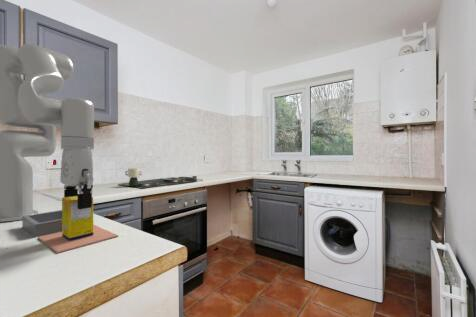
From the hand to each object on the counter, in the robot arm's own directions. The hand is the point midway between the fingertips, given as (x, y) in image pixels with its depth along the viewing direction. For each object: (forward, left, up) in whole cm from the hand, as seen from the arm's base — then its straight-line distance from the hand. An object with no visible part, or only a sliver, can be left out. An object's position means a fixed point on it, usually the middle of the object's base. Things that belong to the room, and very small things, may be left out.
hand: (77, 205), depth 64 cm
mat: (0, 0, -9) cm, 9 cm away
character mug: (-86, +64, -9) cm, 107 cm away
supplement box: (0, 0, -9) cm, 9 cm away
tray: (-17, 0, -9) cm, 19 cm away
